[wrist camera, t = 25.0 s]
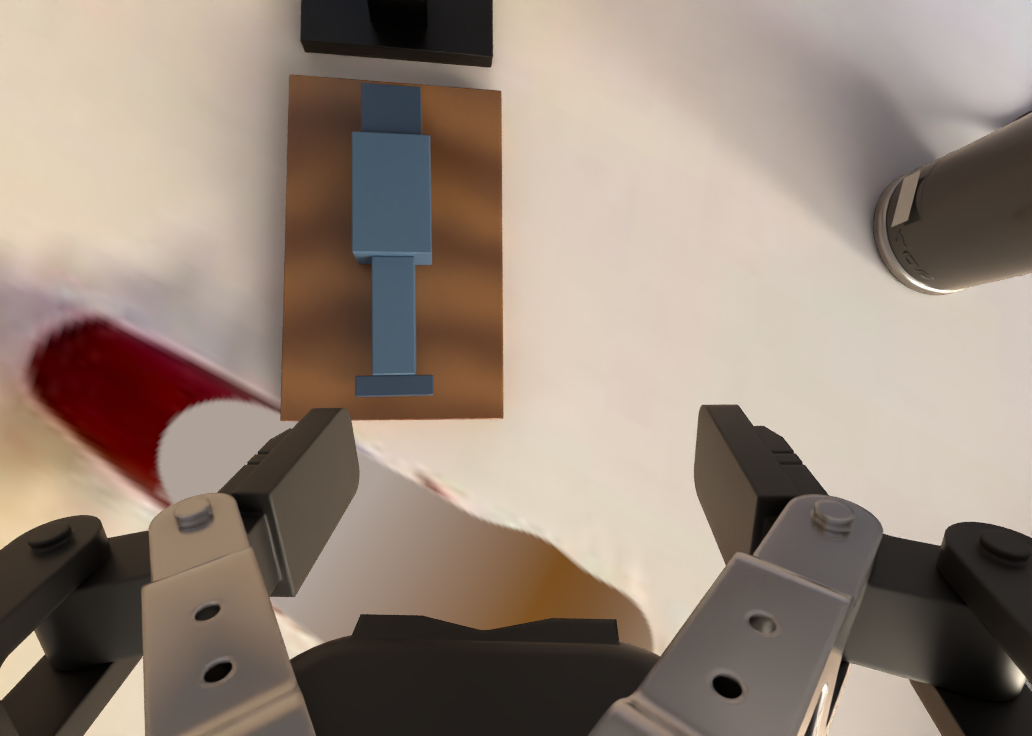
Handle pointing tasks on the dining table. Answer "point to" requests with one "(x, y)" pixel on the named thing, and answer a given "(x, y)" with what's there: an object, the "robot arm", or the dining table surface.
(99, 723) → the dining table surface
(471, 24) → the stand
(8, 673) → the dining table surface
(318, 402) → the board
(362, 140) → the stepped blue block
